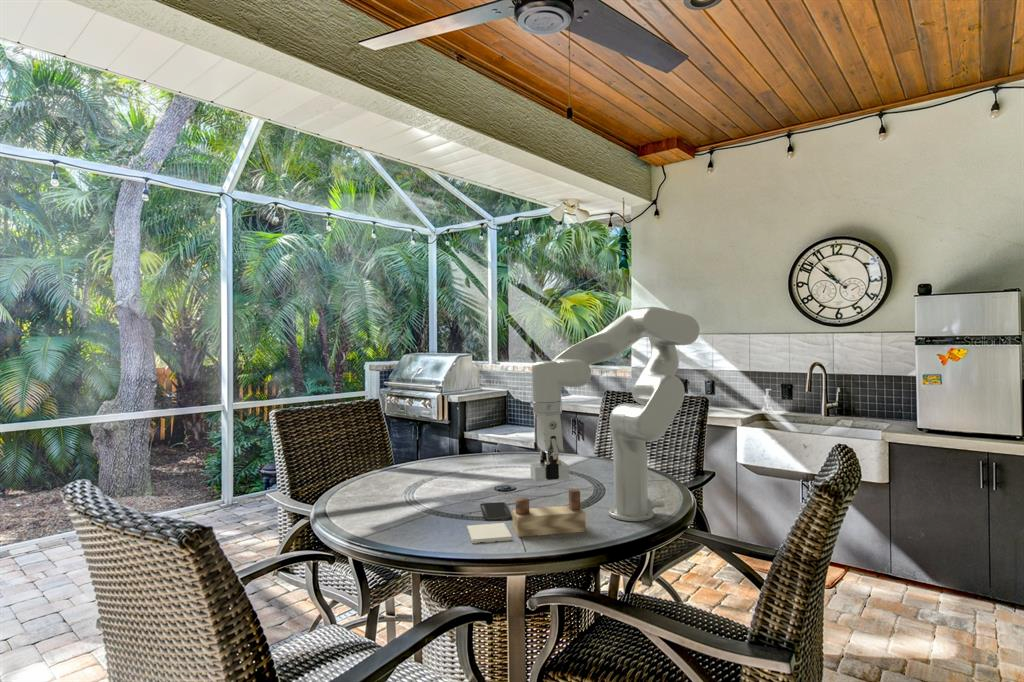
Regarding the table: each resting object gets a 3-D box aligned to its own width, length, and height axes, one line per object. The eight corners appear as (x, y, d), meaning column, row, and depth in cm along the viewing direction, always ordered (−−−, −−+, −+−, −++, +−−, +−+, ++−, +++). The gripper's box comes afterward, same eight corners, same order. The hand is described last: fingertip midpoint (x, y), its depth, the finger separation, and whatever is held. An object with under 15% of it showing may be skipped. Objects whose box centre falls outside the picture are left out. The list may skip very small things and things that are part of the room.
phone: (484, 518, 161) (479, 503, 176) (484, 522, 161) (480, 507, 176) (512, 516, 162) (505, 501, 177) (512, 520, 162) (505, 505, 177)
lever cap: (563, 473, 156) (562, 457, 156) (569, 478, 151) (568, 461, 151) (530, 476, 154) (530, 459, 154) (535, 481, 149) (534, 464, 149)
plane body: (577, 523, 157) (576, 486, 157) (585, 531, 151) (585, 493, 151) (512, 528, 154) (512, 490, 154) (518, 537, 147) (517, 497, 147)
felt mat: (503, 526, 156) (503, 522, 156) (511, 540, 145) (511, 536, 145) (467, 529, 154) (466, 525, 154) (472, 543, 143) (472, 539, 143)
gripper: (570, 411, 145) (572, 483, 145) (552, 403, 162) (554, 468, 162) (541, 412, 143) (543, 485, 143) (526, 405, 160) (528, 470, 160)
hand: (549, 475), depth 153 cm, fingers closed on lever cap, 5 cm apart
